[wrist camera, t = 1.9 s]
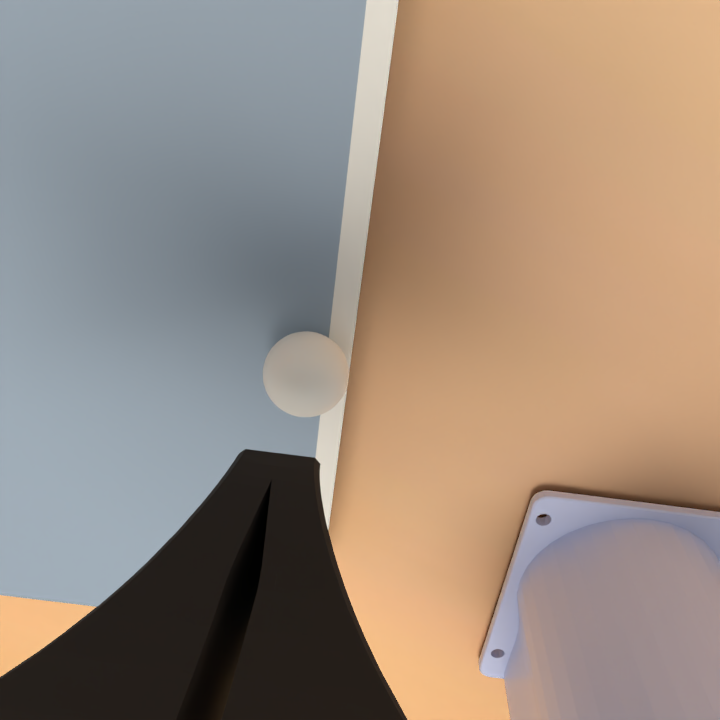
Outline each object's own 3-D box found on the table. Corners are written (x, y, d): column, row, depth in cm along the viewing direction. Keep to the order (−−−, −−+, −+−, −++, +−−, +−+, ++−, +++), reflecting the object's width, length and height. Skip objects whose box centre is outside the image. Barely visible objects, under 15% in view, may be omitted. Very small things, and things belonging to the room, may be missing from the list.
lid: (316, 616, 22) (307, 690, 20) (-106, 565, 22) (-164, 634, 20) (417, -149, 12) (423, -178, 10) (-361, -262, 12) (-542, -318, 10)
